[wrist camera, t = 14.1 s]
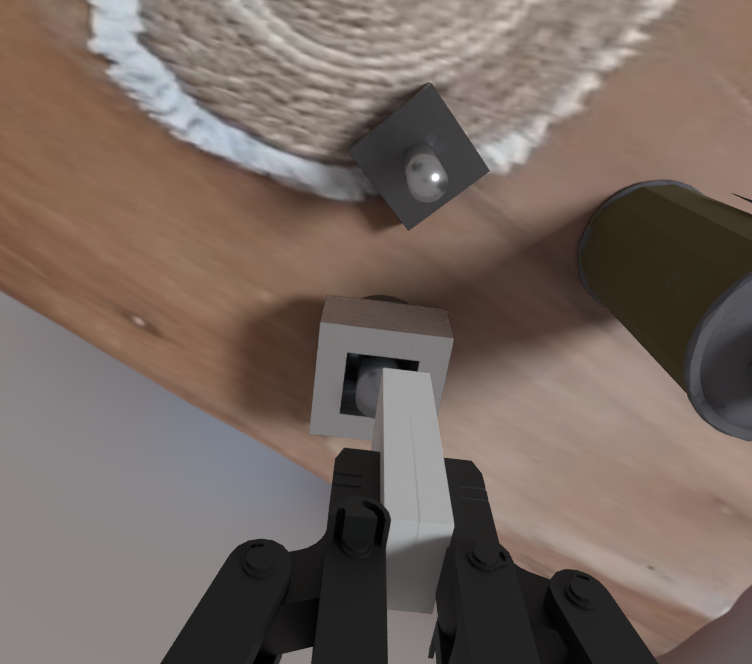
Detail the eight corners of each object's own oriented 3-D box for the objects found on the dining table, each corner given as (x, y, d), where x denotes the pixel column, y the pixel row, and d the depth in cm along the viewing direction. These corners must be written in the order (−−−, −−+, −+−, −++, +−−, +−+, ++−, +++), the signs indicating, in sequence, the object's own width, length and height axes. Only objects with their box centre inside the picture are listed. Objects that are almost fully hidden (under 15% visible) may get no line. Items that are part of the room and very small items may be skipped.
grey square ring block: (326, 294, 42) (320, 322, 38) (446, 309, 43) (453, 338, 38) (316, 397, 46) (309, 433, 42) (426, 410, 47) (431, 447, 42)
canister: (664, 330, 46) (847, 502, 28) (551, 283, 45) (668, 435, 27) (750, 206, 42) (1031, 316, 24) (629, 150, 40) (832, 221, 22)
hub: (310, 332, 46) (295, 389, 38) (389, 275, 44) (390, 324, 36) (370, 399, 49) (368, 466, 41) (447, 349, 47) (461, 409, 39)
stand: (349, 146, 40) (341, 170, 31) (428, 82, 38) (443, 88, 29) (406, 222, 43) (414, 265, 34) (483, 164, 41) (513, 194, 32)
